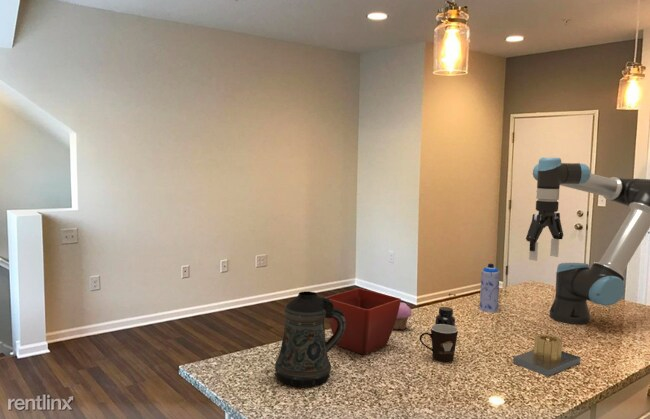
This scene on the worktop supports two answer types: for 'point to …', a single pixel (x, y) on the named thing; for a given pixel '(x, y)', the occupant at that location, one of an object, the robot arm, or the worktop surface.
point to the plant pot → (365, 319)
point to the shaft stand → (546, 363)
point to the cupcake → (402, 316)
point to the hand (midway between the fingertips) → (543, 258)
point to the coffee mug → (442, 342)
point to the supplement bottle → (445, 316)
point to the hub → (547, 348)
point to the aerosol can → (489, 289)
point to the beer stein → (307, 341)
